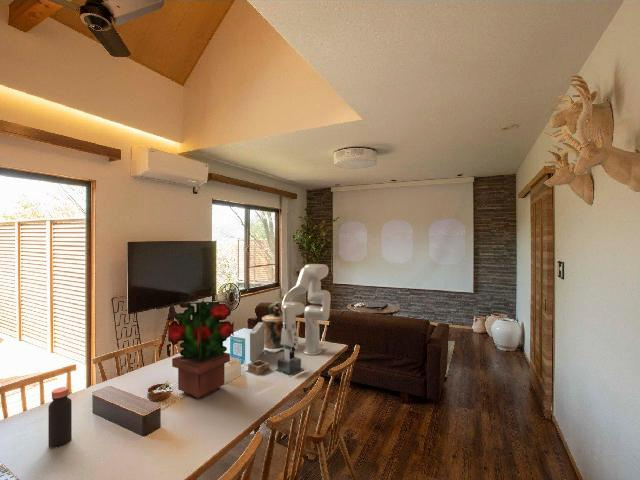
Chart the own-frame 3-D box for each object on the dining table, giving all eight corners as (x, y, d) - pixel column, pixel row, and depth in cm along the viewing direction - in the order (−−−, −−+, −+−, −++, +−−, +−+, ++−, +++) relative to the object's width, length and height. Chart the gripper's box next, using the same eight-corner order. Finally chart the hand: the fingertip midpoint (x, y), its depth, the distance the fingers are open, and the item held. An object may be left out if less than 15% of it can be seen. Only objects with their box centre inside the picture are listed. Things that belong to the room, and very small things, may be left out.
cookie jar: (251, 346, 229) (251, 302, 229) (276, 338, 248) (276, 297, 248) (274, 354, 213) (274, 306, 213) (299, 345, 232) (299, 301, 232)
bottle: (47, 442, 120) (47, 389, 120) (70, 434, 125) (70, 383, 125) (49, 451, 115) (49, 395, 115) (72, 442, 120) (72, 389, 120)
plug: (289, 364, 188) (289, 344, 188) (294, 365, 185) (294, 345, 185) (284, 366, 185) (284, 345, 185) (289, 368, 182) (289, 347, 182)
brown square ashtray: (259, 366, 191) (259, 358, 191) (272, 371, 185) (272, 362, 185) (244, 372, 183) (244, 364, 183) (257, 377, 176) (257, 368, 176)
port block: (289, 365, 193) (289, 354, 193) (303, 370, 186) (303, 358, 186) (274, 371, 184) (274, 359, 184) (289, 377, 177) (289, 364, 177)
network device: (259, 365, 194) (259, 332, 194) (245, 365, 195) (245, 332, 195) (267, 350, 220) (267, 321, 220) (254, 350, 220) (254, 321, 220)
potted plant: (205, 377, 176) (204, 296, 176) (233, 387, 165) (233, 300, 165) (168, 394, 157) (168, 303, 157) (197, 406, 146) (197, 308, 146)
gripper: (304, 327, 183) (304, 358, 183) (283, 322, 193) (283, 352, 193) (295, 329, 177) (295, 362, 177) (274, 325, 187) (274, 356, 187)
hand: (289, 357), depth 185 cm, fingers closed on plug, 3 cm apart
